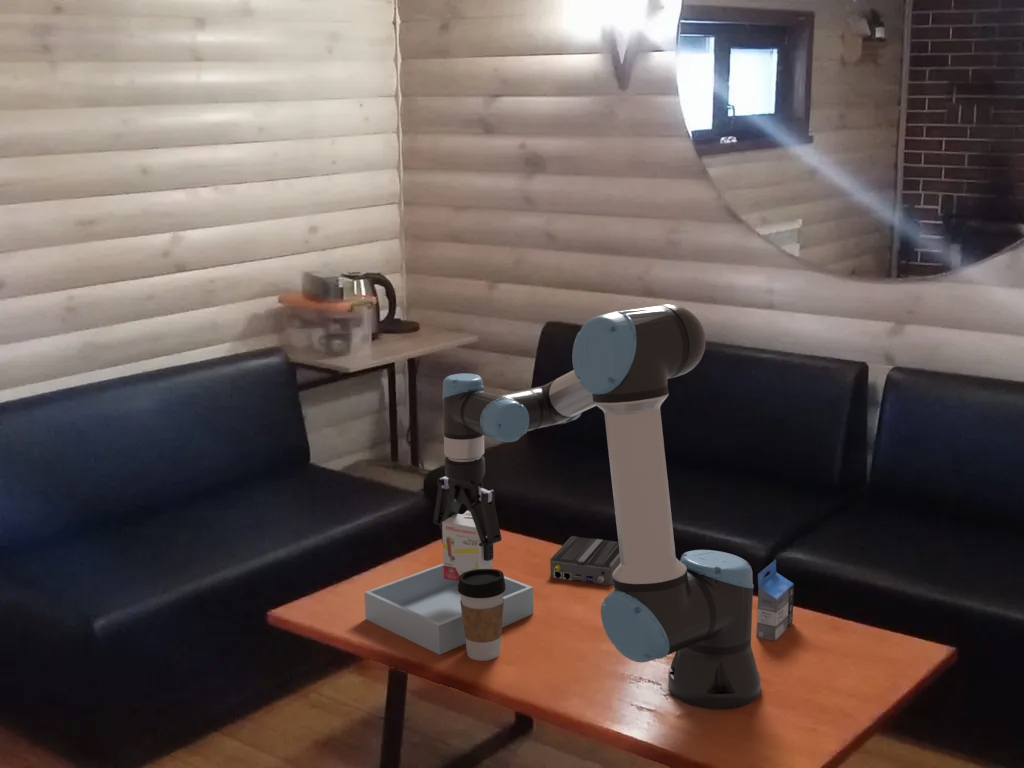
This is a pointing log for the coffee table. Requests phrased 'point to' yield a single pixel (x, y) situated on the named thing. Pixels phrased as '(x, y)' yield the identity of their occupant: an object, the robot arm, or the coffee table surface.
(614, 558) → the electronic device
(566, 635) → the coffee table surface
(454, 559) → the ink box
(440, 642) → the tote
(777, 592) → the hang tab carton
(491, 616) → the coffee cup
